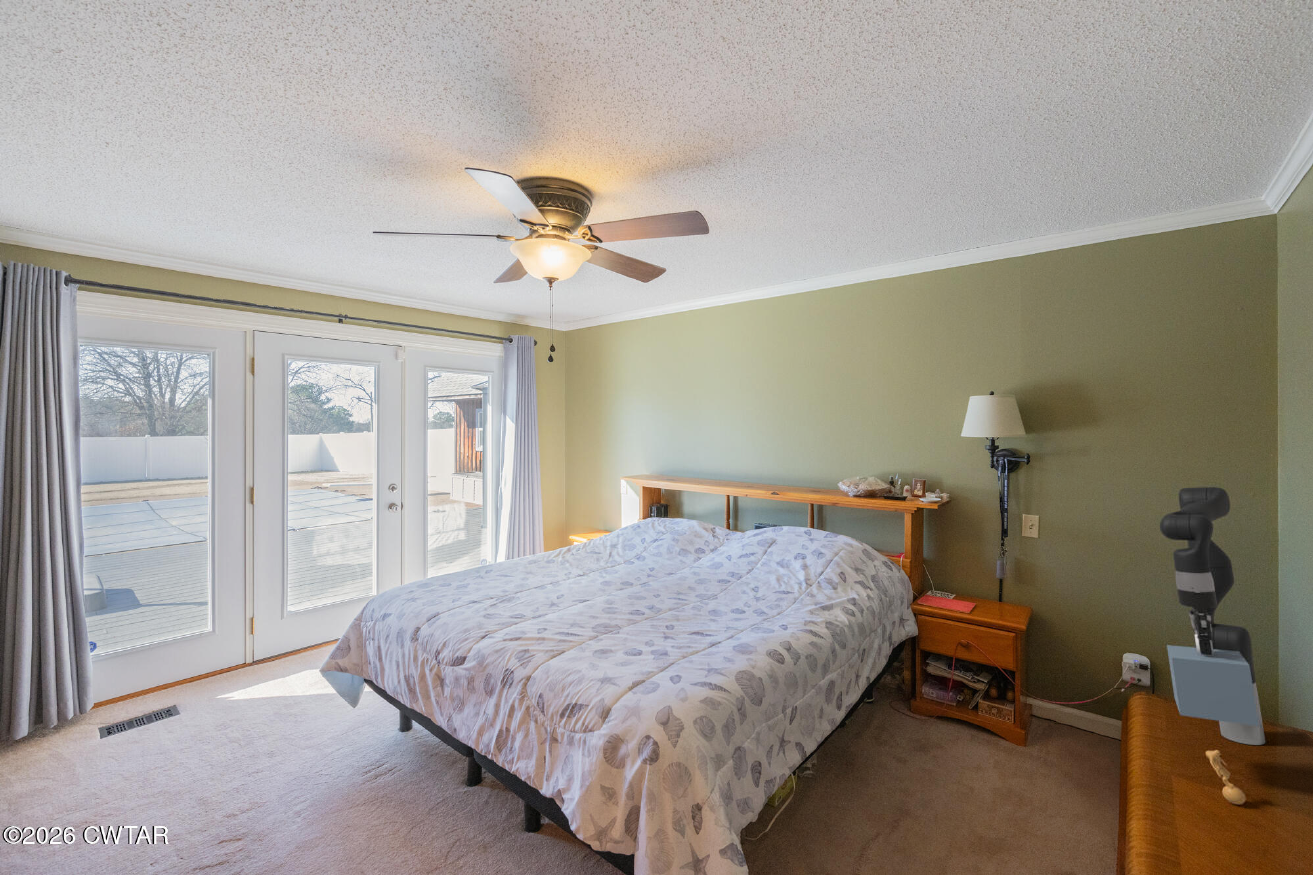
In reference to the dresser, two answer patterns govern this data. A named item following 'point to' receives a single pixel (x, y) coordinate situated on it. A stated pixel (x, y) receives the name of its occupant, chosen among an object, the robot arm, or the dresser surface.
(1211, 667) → the block with white knob
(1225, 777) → the figurine
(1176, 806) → the dresser surface
